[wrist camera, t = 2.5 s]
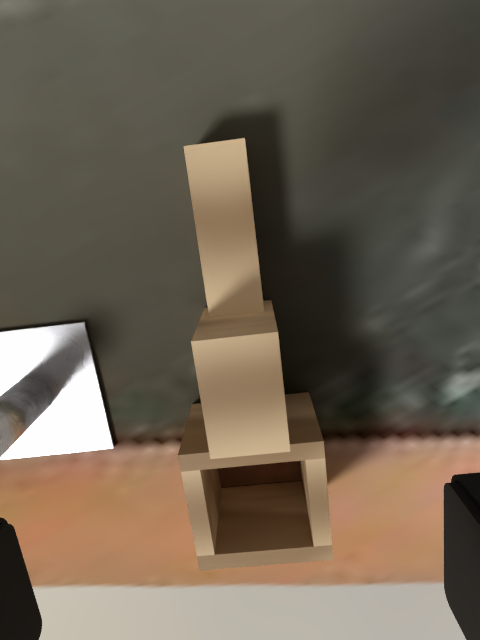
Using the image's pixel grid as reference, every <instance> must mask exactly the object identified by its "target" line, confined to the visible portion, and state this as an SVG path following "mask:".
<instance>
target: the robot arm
mask: <svg viewBox="0 0 480 640" xmlns="http://www.w3.org/2000/svg"><path fill="white" fill-rule="evenodd" d="M444 588H445V594H446V597H447V601H448V603H449V606H450V608H451V610H452V612H453V614H454V616H455V618H456V620H457V622H458V624H459V626H460V628H461V630H462V632H463V634H464V636H465V638H466V639H467V640H480V473H469V474H459V475H454V476H453V477H452V479H451V483H446V484H445V485H444ZM41 629H42V619H41V615H40V612H39V609H38V605H37V602H36V598H35V595H34V592H33V589H32V585H31V582H30V579H29V575H28V572H27V569H26V565H25V562H24V559H23V555H22V552H21V549H20V546H19V542H18V539H17V536H16V532H15V529H14V527H13V526H12V525H11V524H8V523H7V521H6V520H5V519H4V518H0V640H39V637H40V634H41Z"/></svg>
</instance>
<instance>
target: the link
mask: <svg viewBox="0 0 480 640" xmlns="http://www.w3.org/2000/svg"><path fill="white" fill-rule="evenodd" d="M184 152H185V159H186V165H187V172H188V179H189V185H190V192H191V199H192V205H193V212H194V219H195V226H196V232H197V239H198V246H199V252H200V259H201V266H202V272H203V279H204V286H205V293H206V299H207V306H208V307H205V308H204V311H203V313H202V316H201V318H200V321H199V323H198V326H197V328H196V331H195V333H194V336H193V338H192V341H191V344H192V350H193V356H194V362H195V368H196V374H197V380H198V387H199V393H200V399H201V403H198V404H192V406H191V410H190V414H189V417H188V421H187V424H186V428H185V432H184V435H183V439H182V443H181V446H180V450H179V453H178V458H179V463H180V469H181V474H182V479H183V485H184V490H185V495H186V501H187V506H188V511H189V517H190V522H191V527H192V533H193V538H194V543H195V549H196V554H197V559H198V564H199V570H212V569H224V568H236V567H249V566H261V565H273V564H286V563H298V562H310V561H323V560H333V552H332V539H331V526H330V513H329V501H328V488H327V475H326V462H325V450H324V440H323V437H322V434H321V430H320V427H319V424H318V420H317V417H316V414H315V411H314V407H313V404H312V401H311V398H310V394H309V392H305V393H295V394H286V395H285V394H284V385H283V375H282V365H281V356H280V346H279V336H278V329H277V325H276V320H275V315H274V311H273V306H272V301H271V300H266V301H263V296H262V287H261V278H260V269H259V260H258V251H257V242H256V233H255V224H254V215H253V207H252V198H251V189H250V180H249V171H248V162H247V153H246V144H245V138H241V139H233V140H226V141H219V142H211V143H204V144H197V145H189V146H184ZM291 461H300V470H301V480H302V481H294V482H283V483H272V484H261V485H250V486H239V487H228V488H221V484H220V478H219V471H218V468H227V467H238V466H248V465H259V464H270V463H280V462H291Z"/></svg>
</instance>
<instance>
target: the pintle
mask: <svg viewBox="0 0 480 640" xmlns="http://www.w3.org/2000/svg"><path fill="white" fill-rule="evenodd" d="M114 447H115V446H114V441H113V437H112V433H111V428H110V424H109V420H108V416H107V411H106V407H105V403H104V399H103V394H102V390H101V386H100V381H99V377H98V373H97V369H96V364H95V360H94V356H93V351H92V347H91V343H90V339H89V334H88V330H87V326H86V321H84V322H75V323H67V324H58V325H49V326H41V327H32V328H23V329H15V330H6V331H0V460H2V459H12V458H23V457H33V456H43V455H53V454H63V453H74V452H84V451H94V450H104V449H114Z"/></svg>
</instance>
